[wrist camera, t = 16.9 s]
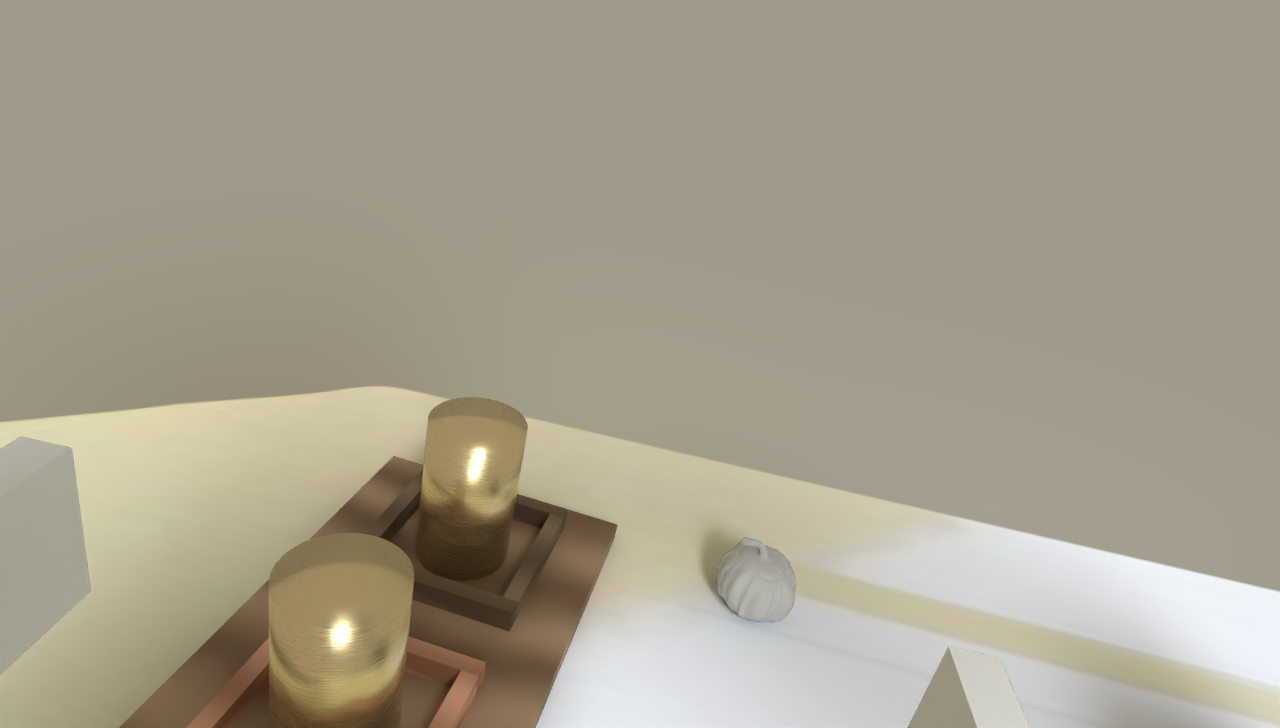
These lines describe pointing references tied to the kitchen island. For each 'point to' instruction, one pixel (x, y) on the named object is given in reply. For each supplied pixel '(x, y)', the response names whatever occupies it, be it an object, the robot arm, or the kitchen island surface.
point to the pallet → (423, 623)
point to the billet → (469, 487)
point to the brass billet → (339, 633)
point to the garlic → (756, 581)
